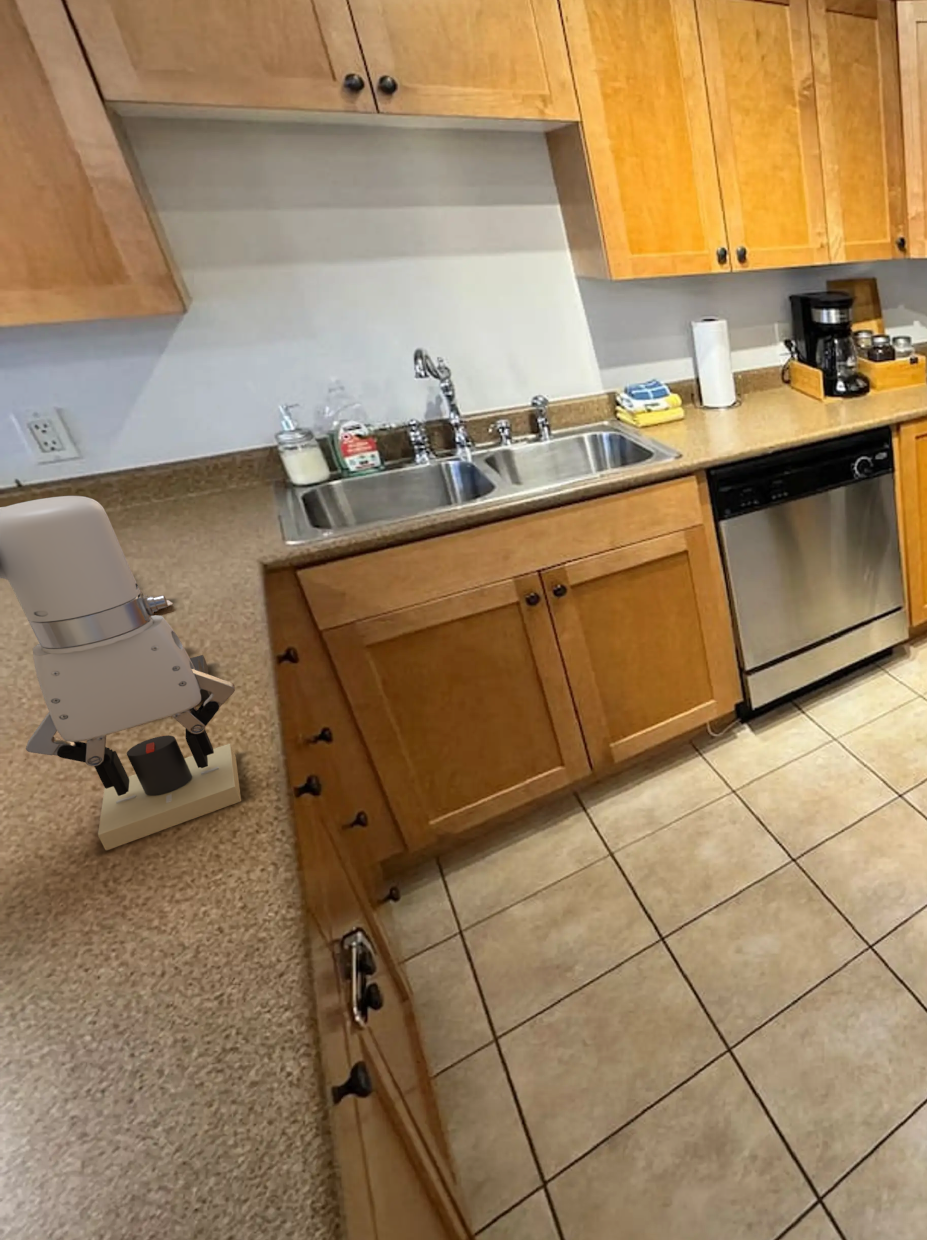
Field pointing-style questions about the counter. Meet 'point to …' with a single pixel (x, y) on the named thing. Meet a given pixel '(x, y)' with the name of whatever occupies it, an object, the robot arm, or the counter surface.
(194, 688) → the robot arm
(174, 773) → the timer knob
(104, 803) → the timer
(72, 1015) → the counter surface
